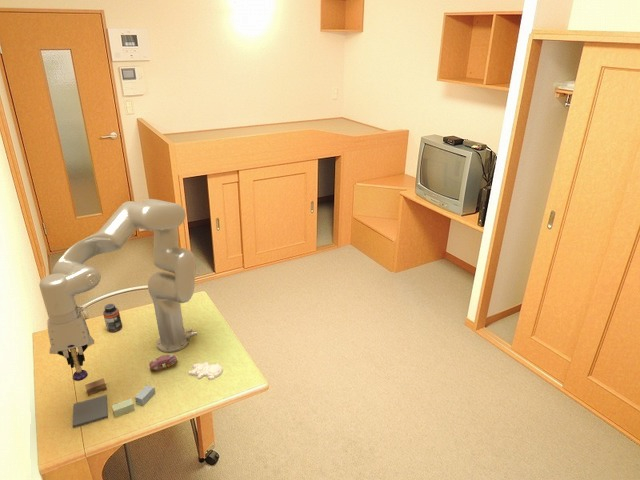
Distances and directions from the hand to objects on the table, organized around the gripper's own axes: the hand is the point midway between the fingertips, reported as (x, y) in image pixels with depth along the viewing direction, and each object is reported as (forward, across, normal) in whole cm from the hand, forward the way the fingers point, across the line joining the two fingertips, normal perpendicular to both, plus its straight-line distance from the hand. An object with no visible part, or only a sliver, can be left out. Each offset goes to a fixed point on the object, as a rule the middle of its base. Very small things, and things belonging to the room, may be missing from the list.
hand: (77, 363), depth 137 cm
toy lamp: (+5, 0, 0) cm, 5 cm away
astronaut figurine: (+21, -38, -4) cm, 44 cm away
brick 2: (+20, -10, +4) cm, 23 cm away
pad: (+20, 0, 0) cm, 20 cm away
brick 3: (+20, -17, +1) cm, 27 cm away
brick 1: (+20, -2, -10) cm, 23 cm away
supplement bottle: (+20, -9, -46) cm, 51 cm away
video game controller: (+20, -25, -13) cm, 34 cm away
